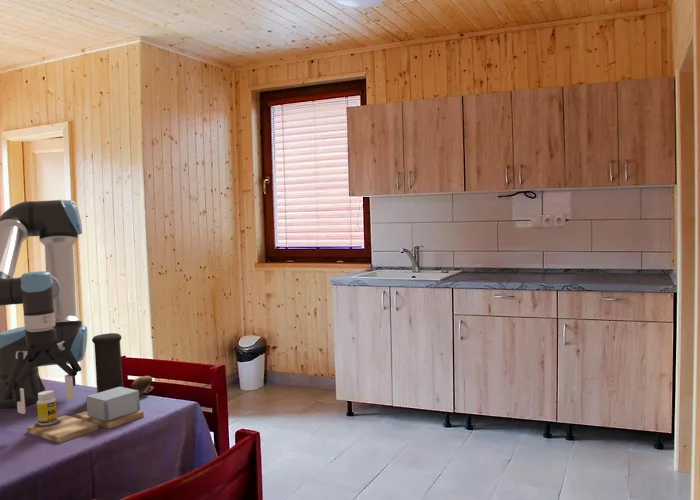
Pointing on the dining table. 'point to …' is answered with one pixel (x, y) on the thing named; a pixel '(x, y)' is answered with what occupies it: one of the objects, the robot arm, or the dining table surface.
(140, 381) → the mushroom
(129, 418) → the pattern board
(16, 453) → the dining table surface
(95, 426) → the board
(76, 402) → the dining table surface
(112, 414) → the cover
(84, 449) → the dining table surface
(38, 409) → the supplement bottle
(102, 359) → the container
